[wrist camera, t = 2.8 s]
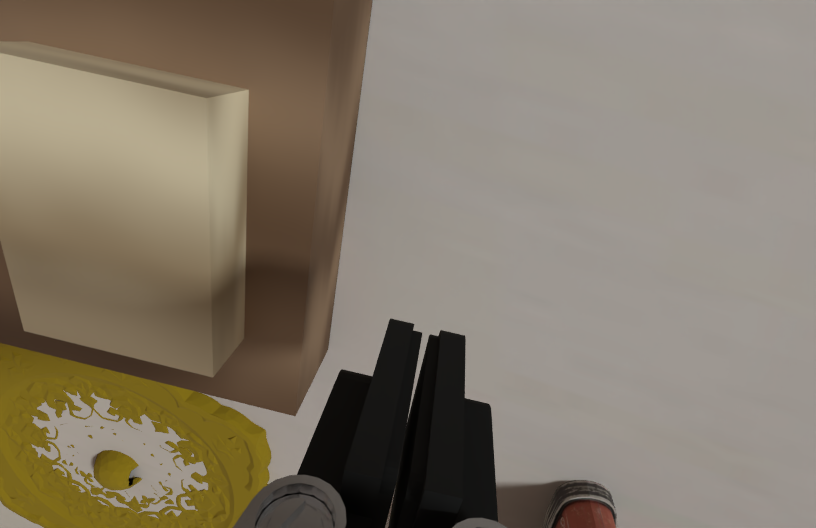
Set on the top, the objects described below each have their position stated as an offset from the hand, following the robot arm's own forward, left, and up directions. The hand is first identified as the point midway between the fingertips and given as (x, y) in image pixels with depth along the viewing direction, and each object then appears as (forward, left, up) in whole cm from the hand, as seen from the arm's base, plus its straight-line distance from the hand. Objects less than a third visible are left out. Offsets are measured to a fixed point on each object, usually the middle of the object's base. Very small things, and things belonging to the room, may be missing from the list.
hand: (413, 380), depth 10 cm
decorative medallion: (+18, -15, -9) cm, 25 cm away
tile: (-1, -9, -4) cm, 10 cm away
